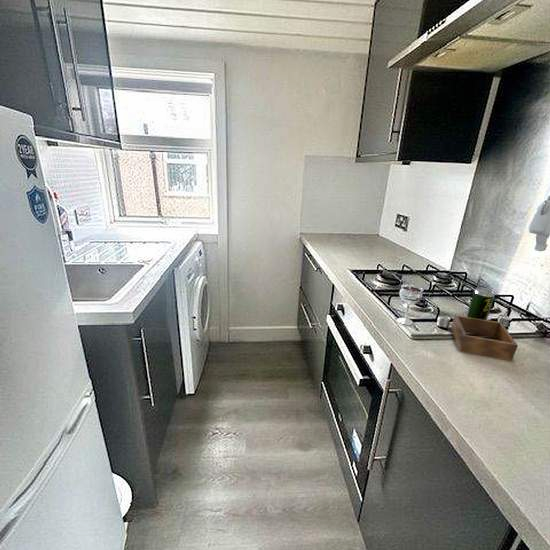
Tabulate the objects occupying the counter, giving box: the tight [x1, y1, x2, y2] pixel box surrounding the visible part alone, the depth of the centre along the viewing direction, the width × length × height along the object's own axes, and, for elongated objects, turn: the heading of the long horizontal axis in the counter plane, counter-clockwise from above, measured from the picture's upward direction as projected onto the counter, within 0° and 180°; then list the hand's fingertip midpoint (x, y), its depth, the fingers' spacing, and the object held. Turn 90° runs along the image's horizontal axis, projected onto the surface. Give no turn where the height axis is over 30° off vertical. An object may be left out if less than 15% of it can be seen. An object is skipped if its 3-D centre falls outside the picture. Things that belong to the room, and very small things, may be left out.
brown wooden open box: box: [450, 314, 518, 362], centre depth 88 cm, size 13×13×5 cm
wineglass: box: [396, 283, 424, 326], centre depth 97 cm, size 7×7×12 cm
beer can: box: [466, 286, 495, 320], centre depth 97 cm, size 5×5×12 cm
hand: (549, 248), depth 78 cm, fingers open, 8 cm apart
